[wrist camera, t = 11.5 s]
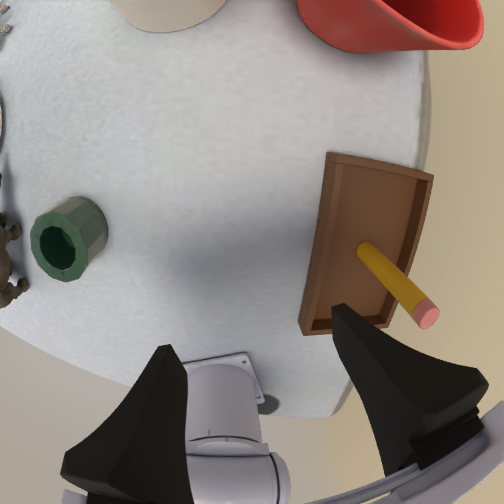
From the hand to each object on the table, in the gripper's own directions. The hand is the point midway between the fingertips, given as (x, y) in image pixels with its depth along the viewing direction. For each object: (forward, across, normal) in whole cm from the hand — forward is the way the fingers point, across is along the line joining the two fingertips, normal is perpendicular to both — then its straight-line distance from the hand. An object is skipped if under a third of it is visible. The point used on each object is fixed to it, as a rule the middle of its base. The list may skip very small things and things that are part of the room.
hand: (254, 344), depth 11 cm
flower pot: (+11, -12, -17) cm, 23 cm away
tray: (+10, -10, +3) cm, 15 cm away
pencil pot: (+10, +12, -5) cm, 17 cm away
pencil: (+10, -10, +3) cm, 14 cm away
